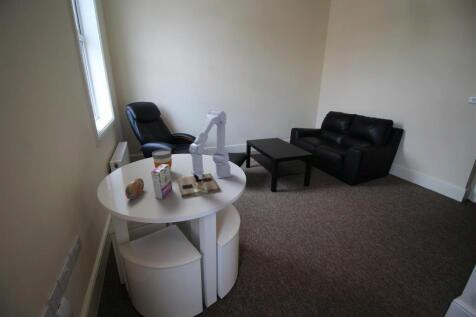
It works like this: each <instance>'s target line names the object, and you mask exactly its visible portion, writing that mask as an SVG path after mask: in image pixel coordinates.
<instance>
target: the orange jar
mask: <svg viewBox="0 0 476 317" xmlns="http://www.w3.org/2000/svg"><path fill="white" fill-rule="evenodd" d="M152 159H153V164H154V167H155V169H156V168H157V167H159V166H160V165H161V164H167V165H169V168H170V174H171V172H172V166H173V162H172V161H173V159H172V151H171V150H170V149H158V150H155V151H152Z"/></svg>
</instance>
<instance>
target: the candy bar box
mask: <svg viewBox="0 0 476 317" xmlns="http://www.w3.org/2000/svg"><path fill="white" fill-rule="evenodd" d="M150 173H151V179H152V185H153V190H154V197H155V199H158V200H159V199H160V200H164V199H165V198H166V197H167V196H168V195H169V194H170V193H171V192H172V191H173V185H172V177H171V173H170V168H169V165H167V164H161V165H160V166H159V167H157V168H155V169H153V170H151V171H150Z"/></svg>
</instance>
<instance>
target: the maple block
mask: <svg viewBox="0 0 476 317" xmlns="http://www.w3.org/2000/svg"><path fill="white" fill-rule="evenodd" d="M196 189H197V191H204V190H205V189H204V183H203V181H201V182H196Z"/></svg>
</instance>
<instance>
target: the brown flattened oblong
mask: <svg viewBox="0 0 476 317" xmlns="http://www.w3.org/2000/svg"><path fill="white" fill-rule="evenodd" d="M144 188H145V183H144V180H143V178H135V179H133V180H132V181H131V182H130V183H129V184H128V185H127V186H126V187H125V190H124V191H125V196H126V198H127V200H134V199H136V198H137V197H138V196H139V195H140V194H142V192H143V191H144Z"/></svg>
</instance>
